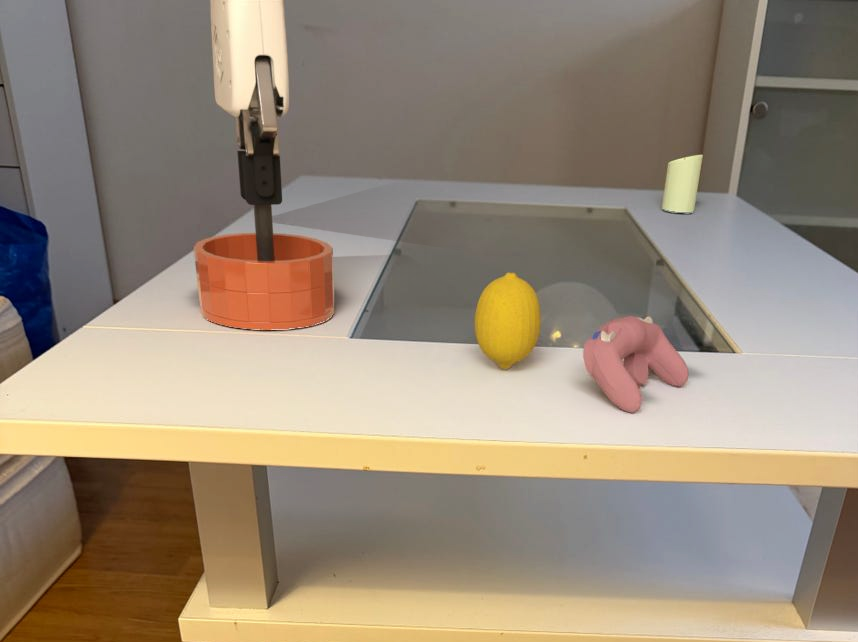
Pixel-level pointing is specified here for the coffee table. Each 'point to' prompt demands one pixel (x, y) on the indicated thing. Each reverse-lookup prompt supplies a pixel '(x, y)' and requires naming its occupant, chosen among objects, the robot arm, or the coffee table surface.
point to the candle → (682, 184)
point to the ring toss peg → (264, 232)
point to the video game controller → (631, 359)
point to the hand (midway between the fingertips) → (261, 200)
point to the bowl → (265, 281)
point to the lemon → (507, 320)
